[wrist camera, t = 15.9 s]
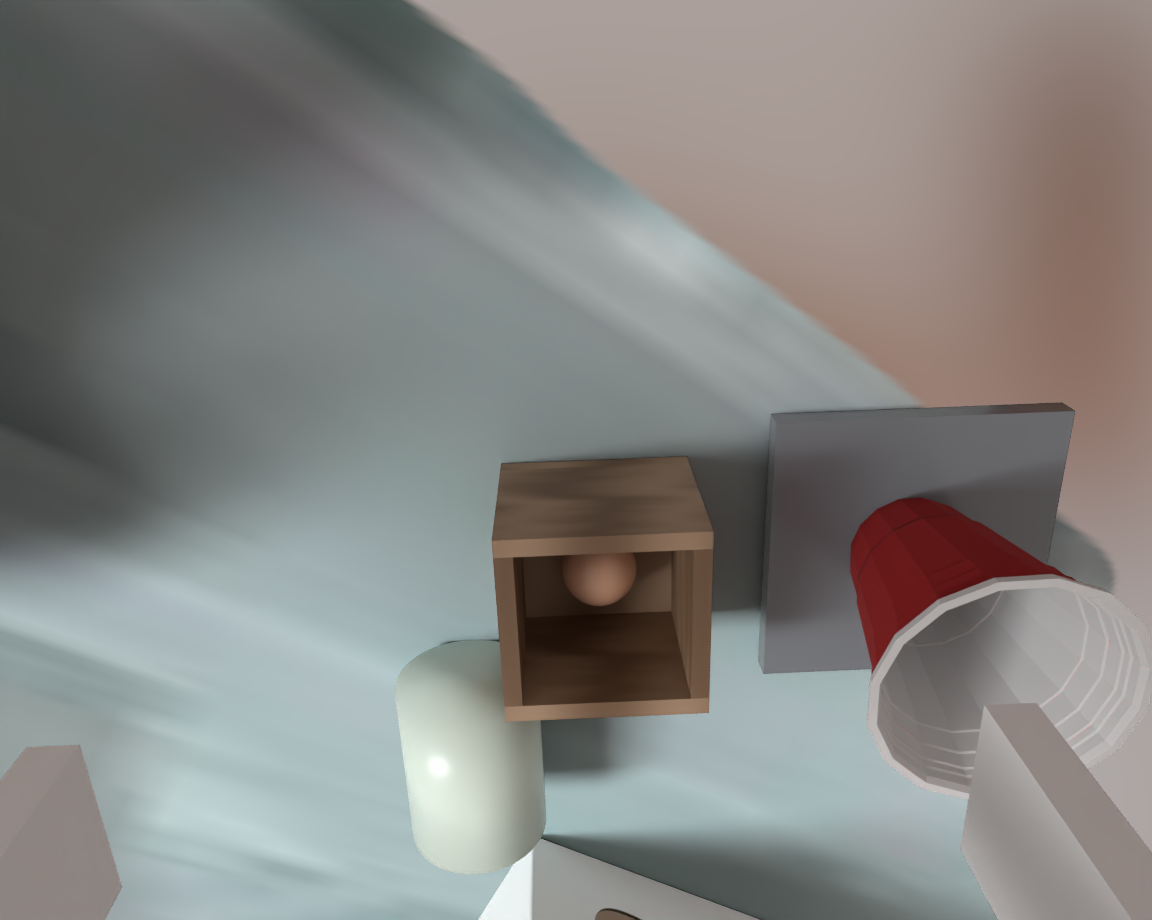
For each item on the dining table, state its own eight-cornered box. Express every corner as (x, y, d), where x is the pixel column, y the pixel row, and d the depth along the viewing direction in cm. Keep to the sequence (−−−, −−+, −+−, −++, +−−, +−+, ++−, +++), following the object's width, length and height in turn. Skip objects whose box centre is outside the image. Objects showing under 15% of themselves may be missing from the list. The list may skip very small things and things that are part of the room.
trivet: (758, 660, 50) (763, 673, 49) (770, 414, 44) (776, 423, 43) (1018, 649, 50) (1028, 662, 49) (1062, 402, 45) (1075, 410, 43)
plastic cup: (752, 591, 47) (815, 752, 36) (879, 412, 43) (993, 529, 32) (924, 675, 49) (1034, 851, 38) (1058, 511, 45) (1223, 653, 34)
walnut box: (512, 622, 48) (505, 721, 41) (501, 463, 45) (491, 540, 38) (684, 615, 49) (708, 712, 41) (686, 456, 45) (713, 531, 38)
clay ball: (562, 583, 47) (563, 622, 43) (559, 518, 45) (560, 554, 42) (633, 580, 47) (640, 619, 43) (632, 515, 45) (639, 550, 42)
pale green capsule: (557, 781, 52) (530, 881, 45) (436, 769, 53) (394, 865, 47) (550, 644, 48) (520, 732, 42) (421, 635, 49) (373, 719, 43)
